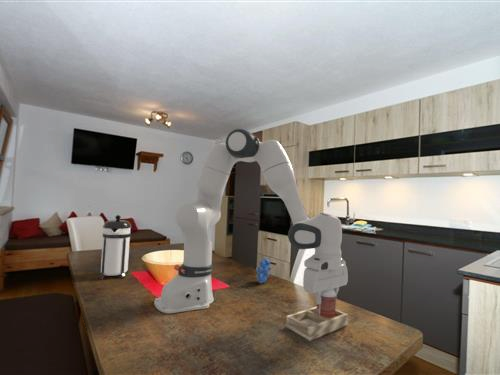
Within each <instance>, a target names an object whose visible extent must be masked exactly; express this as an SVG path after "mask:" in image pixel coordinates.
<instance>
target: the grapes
mask: <svg viewBox="0 0 500 375" xmlns="http://www.w3.org/2000/svg"><path fill="white" fill-rule="evenodd" d="M258 263H259V266H257V267H256V272H257V275H256V279H257V281H258V283H259V284H263V283H264V284H265V283H266V282H267V280H268V278H269V276H270V272H269V271H271V270H272V268H271V265H270V264H271V261H270V260H269V259H268V258H267V257H264V258H263V259H262V260H261V261H260V262H258Z"/></svg>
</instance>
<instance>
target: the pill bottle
mask: <svg viewBox="0 0 500 375" xmlns="http://www.w3.org/2000/svg"><path fill="white" fill-rule="evenodd" d="M333 289H334V284H333V285H329V288H328V290H325V291H321V295H320V296H321V298H322V299H323V303H322V304H320V305H318V304H316V306H317V314H318V315H320V316H322V317H325V318H327V319H331V318H334V317H335V309H336V306H337V305H336V301H337V296H336V293H335V291H334V290H333Z"/></svg>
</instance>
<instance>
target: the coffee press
mask: <svg viewBox="0 0 500 375" xmlns="http://www.w3.org/2000/svg"><path fill="white" fill-rule="evenodd" d="M102 228H103V232H102V247H101V248H102V249H101V260H100V275H99V276H98V279H99V280H103V279H104V278H106V276H108V277H109V276H110V277H111V276H113V277H114V276H115V277H116V276H119V277H120V279H125V278H126V274H127V273H129V270H128V269H129V255H130V241H131V235H132V234H131V228H132V224H131V223H130V222H129V221H128V220H123V219H121V215H119V214H117V215H116V216H115V219H113V220H111V219H110V220H107V221H105V222H104V224H103V225H102Z"/></svg>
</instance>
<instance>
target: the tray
mask: <svg viewBox="0 0 500 375" xmlns="http://www.w3.org/2000/svg"><path fill="white" fill-rule="evenodd" d="M348 322H349V314H348V313H345V312H343V311H341V310H339V309H337V308H335V317H334V318H331V319H327V318H325V317H322V316H320V315H318V314H317V305H316V306H314V307H310V308H307V309H304V310H300V311H298V312H295V313H294V312H293V313H291V314H288V315H286V322H285V326H286V328H287V329H289V330H291V331H293V332H294V333H296V334H298V335H299V336H300V337H303V338H304V339H306V340H308V341H309V342H311V341H313V340H316V339H318V338H320V337H323V336H325V335H327V334H330V333H332V332H334V331H337V330H339V329H342V328H344V327H346V326H348V324H349V323H348Z"/></svg>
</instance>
